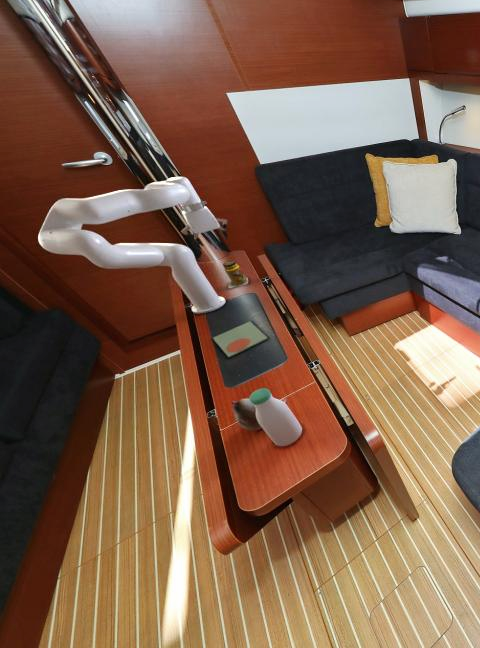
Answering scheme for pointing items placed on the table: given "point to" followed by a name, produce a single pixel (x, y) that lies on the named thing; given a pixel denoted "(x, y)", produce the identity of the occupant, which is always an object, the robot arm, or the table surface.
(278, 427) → the milk bottle
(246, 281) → the condiment
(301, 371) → the table surface
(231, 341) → the placemat
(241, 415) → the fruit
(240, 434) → the table surface
